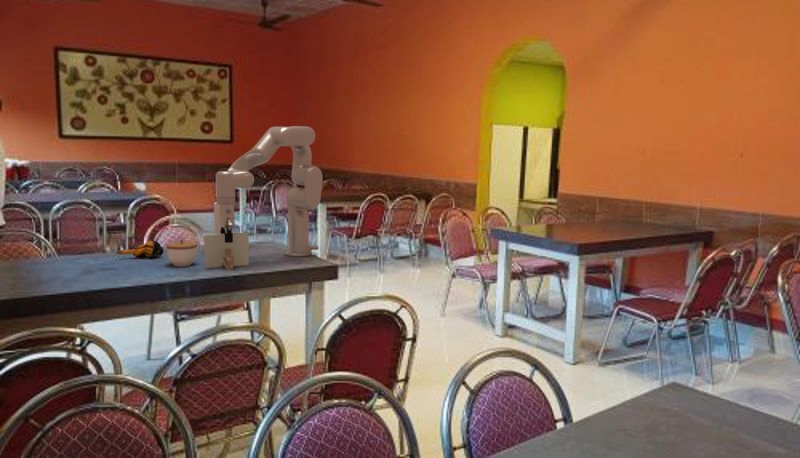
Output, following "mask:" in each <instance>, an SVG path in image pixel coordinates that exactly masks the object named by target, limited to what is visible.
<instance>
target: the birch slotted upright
mask: <svg viewBox="0 0 800 458" xmlns="http://www.w3.org/2000/svg"><path fill="white" fill-rule="evenodd" d="M222 266H224V267H225V269H227V270H228V271H230V270H234V266H233V251H232V250H231V249H225V258H222Z"/></svg>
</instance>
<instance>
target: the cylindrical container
mask: <svg viewBox="0 0 800 458" xmlns="http://www.w3.org/2000/svg"><path fill="white" fill-rule="evenodd" d="M213 217H214V218H213V220H214V221H213V222H214V224H213V225H214V234H220V230H221V229H220V227H221V226H220V223H219V205H217V201H215V202H214V203H213Z"/></svg>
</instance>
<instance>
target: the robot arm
mask: <svg viewBox="0 0 800 458" xmlns="http://www.w3.org/2000/svg"><path fill="white" fill-rule="evenodd" d="M315 140H316V133H315V130H314V129H313V128H312V127H310V126H305V125H304V126H302V125H301V126H300V125H292V126H272V127H269V129H267V130H266V131H265V132H264V134H263V135H262V136H261V137H260V139H259V140H258V141H257V143H256V144H255V145H254V146H253V147H252V148H251V149H250V150H248V151H247V152H245V153H244V154H243V155H241V156H240V157H238V159H236V160H235V161H234V162H233V163H232V164H231V166H230V167H229V168H228V169H227V170H220V171H217V172H216V174H215V187H216V188H215V189H216V190H215V191H216V193H215V195H216V202H217V205H219V223H220V226H221V227H220V229H221V230H220V234H225V243H232V242H233V232H234V231H233V229H235V228H236V223H235V222H236V221H235V207H234V205H236V189H237V188H238V189H248V188H250V187H252V186H253V185H254V183H255V176H254V175H253V173H252V172H250V170H252V169H253V168H256V167H258V166H261V165H264V164H265V163H267V162H269V161H270V160H271V158H272V157H273V155H275V153H276V152H277V150H279V149H280V147H290V148H291V150H292V155H293V157H292V165H291V166H292V167H291V181H292V182H293V184H296V185H299V186H304V188H303V187H293V188H291V189H289V190H288V191H287V192H286V196H285V202H286V207H287V217H288V218H287V220H288V221H287V223H288V224H287V226H288V227H287V228H288V229H287V236H288V237H287V238H288V240H287V244H288V245H287V246H288V247H287V248H288V249H287V250H286V251H285V252H284V254H285V256H288V257H297V258H298V257H300V258H301V257H309V256H311V255H312V254H313V252H312V251H317V250H319V245H311V244H310V243H309V236H310V235H309V234H310V233H309V231H310V230H309V228H310V226H309V225H310V224H309V222H310V221H309V220H310V217H309V212H308V211H314V210H316V209H317V208H318V207H319V205H320V202H321V198H322V189H323V188H322V187H323V178H324V177H323V173H322V170H321V169H320V168H319V167H318V166H315V165H312V158H313V157H312V155H313V154H312V150H311V146H310V145H312V144H314V142H315Z"/></svg>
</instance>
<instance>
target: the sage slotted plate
mask: <svg viewBox="0 0 800 458" xmlns="http://www.w3.org/2000/svg"><path fill="white" fill-rule="evenodd" d="M203 237H204V243H203V244H204V268H205V269H212V268H213V269H215V268H222V267H223V264H222V258H225V249H231V250H232V251H233V267H241V266H242V267H243V266H249V265H250V255H249V253H250V250H249V249H250V248H249V246H250V245H249V241H250V240H249V237H250V236H249V233H248V232H234V233H233V242H232V243H225V234H215V233H212V234H203Z"/></svg>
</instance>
